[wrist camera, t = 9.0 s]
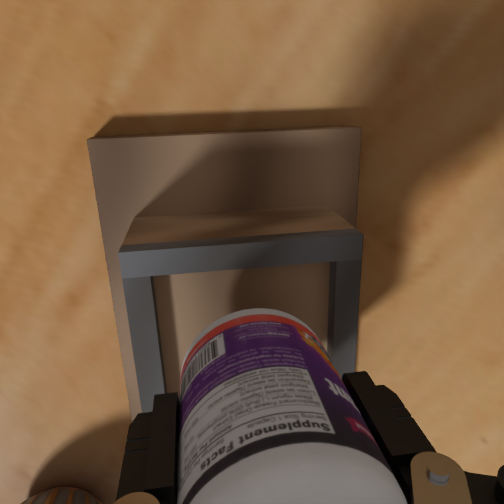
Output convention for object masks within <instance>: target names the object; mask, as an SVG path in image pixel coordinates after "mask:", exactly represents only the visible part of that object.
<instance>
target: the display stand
mask: <svg viewBox="0 0 504 504" xmlns="http://www.w3.org/2000/svg"><path fill="white" fill-rule="evenodd" d="M361 129H362V128H361V127H355V126H337V127H314V128H290V129H267V130H243V131H220V132H196V133H173V134H149V135H126V136H102V137H91V138H89V139H87V144H88V150H89V156H90V162H91V169H92V175H93V181H94V187H95V194H96V200H97V206H98V212H99V219H100V225H101V231H102V237H103V244H104V250H105V256H106V262H107V269H108V275H109V281H110V287H111V294H112V300H113V306H114V312H115V319H116V325H117V331H118V337H119V343H120V350H121V356H122V362H123V368H124V375H125V381H126V387H127V393H128V400H129V406H130V412H131V418H132V421H133V420H134V419H135V417H136V416H137V414H138V413H145V412H152V411H153V402H154V395H155V394H164V393H172V392H178V398H179V389H180V377H181V369H182V365H183V361H184V358H185V355H186V353H187V351H188V349H189V347H190V345H191V344H192V342H193V341H194V340H195V338H196V337H197V336H198V335H199V334H200V333H201V332H202V331H203V330H204V329H205V328H206V327H208V326H209V325H210V324H212V323H213V322H215V321H216V320H218V319H220V318H222V317H224V316H226V315H228V314H231V313H234V312H237V311H241V310H246V309H255V308H266V309H274V310H279V311H282V312H285V313H288V314H290V315H292V316H294V317H296V318H298V319H299V320H301V321H302V322H304V323H305V324H306V325H307V326H308V327H309V328H310V329H311V330H312V331H313V332H314V333H315V334H316V336H317V337H318V339H319V340H320V342H321V343H322V345H323V346H324V348H325V350H326V352H327V354H328V356H329V358H330V359H331V361H332V363H333V365H334V367H335V369H336V370H337V372H338V374H339V376H340V378H341V379H342V375H343V374H344V373H352V372H355V359H356V343H357V327H358V312H359V296H360V280H361V265H362V249H363V234H362V233H361V232H360V231H358V230H357V229H356V217H357V199H358V182H359V164H360V147H361Z"/></svg>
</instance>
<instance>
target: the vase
mask: <svg viewBox="0 0 504 504" xmlns="http://www.w3.org/2000/svg"><path fill="white" fill-rule="evenodd" d="M21 504H102V503H101V502H100V501H99V500H98V499H97V498H96V497H94V496H93V495H92V494H90V493H89V492H87V491H85V490H82V489H79V488H75V487H57V488H53V489H49V490H46V491H43V492H40V493H38V494H36V495H34V496H32V497H30V498H29V499H27V500H25V501H24V502H22V503H21Z"/></svg>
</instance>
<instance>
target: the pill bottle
mask: <svg viewBox="0 0 504 504" xmlns="http://www.w3.org/2000/svg"><path fill="white" fill-rule="evenodd" d="M176 504H407V501H406V498H405V496H404V494H403V492H402V490H401V488H400V486H399V484H398V482H397V480H396V478H395V476H394V474H393V472H392V470H391V468H390V466H389V465H388V463H387V461H386V459H385V457H384V456H383V454H382V452H381V450H380V448H379V447H378V445H377V443H376V442H375V440H374V438H373V436H372V434H371V432H370V430H369V428H368V427H367V425H366V423H365V421H364V420H363V418H362V416H361V414H360V412H359V410H358V409H357V407H356V405H355V403H354V402H353V400H352V398H351V396H350V394H349V392H348V390H347V389H346V387H345V385H344V383H343V381H342V379H341V378H340V376H339V374H338V372H337V370H336V369H335V367H334V365H333V363H332V361H331V359H330V358H329V356H328V354H327V352H326V350H325V348H324V346H323V345H322V343H321V342H320V340H319V339H318V337H317V336H316V334H315V333H314V332H313V331H312V330H311V329H310V328H309V327H308V326H307V325H306V324H305V323H304V322H302V321H301V320H299V319H298V318H296V317H294V316H292V315H290V314H288V313H285V312H282V311H279V310H274V309H266V308H255V309H246V310H241V311H237V312H234V313H231V314H228V315H226V316H224V317H222V318H220V319H218V320H216V321H215V322H213V323H212V324H210V325H209V326H208V327H206V328H205V329H204V330H203V331H202V332H201V333H200V334H199V335H198V336H197V337H196V338H195V340H194V341H193V342H192V344H191V345H190V347H189V349H188V351H187V353H186V355H185V358H184V361H183V365H182V369H181V377H180V389H179V429H178V465H177V501H176Z"/></svg>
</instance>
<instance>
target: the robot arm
mask: <svg viewBox="0 0 504 504" xmlns="http://www.w3.org/2000/svg"><path fill="white" fill-rule="evenodd" d="M342 381H343V383H344V385H345V387H346V389H347V390H348V392H349V394H350V396H351V398H352V400H353V402H354V403H355V405H356V407H357V409H358V410H359V412H360V414H361V416H362V418H363V420H364V421H365V423H366V425H367V427H368V428H369V430H370V432H371V434H372V436H373V438H374V440H375V442H376V443H377V445H378V447H379V448H380V450H381V452H382V454H383V456H384V457H385V459H386V461H387V463H388V465H389V466H390V468H391V470H392V472H393V474H394V476H395V478H396V480H397V482H398V484H399V486H400V488H401V490H402V492H403V494H404V496H405V498H406V501H407V504H504V465H503V466H502V467H500V469H499V470H498V475H497V477H496V476H489V475H482V474H475V473H469V472H465V471H463V469H462V468H461V467H460V466H459V465H458V464H457V463H456V462H455V461H454V460H452V459H451V458H449V457H447V456H445V455H443V454H440V453H437V452H436V451H435V449H434V448H433V446H432V445H431V443H430V442H429V440H428V439H427V438H426V436H425V435H424V433H423V432H422V430H421V429H420V427H419V426H418V425H417V423H416V422H415V420H414V419H413V418H412V417H411V414H410V413H409V412H408V410H407V409H406V408H405V406H404V404H403V403H402V401H401V400H400V399H399V397H398V396H397V394H396V393H394V392H393V391H391V390H390V389H389V388H387V387H386V386H385V385H377V386H376V385H375V384H374V382H373V381H372V379H371V378H370V376H369V375H368V373H367V372H366V371H361V372H352V373H344V374H343V375H342ZM178 429H179V398H178V392H172V393H164V394H155V395H154V402H153V411H152V412H145V413H138V414H137V416H136V417H135V419H134V420H133V421H132V423H131V424H130V426H129V430H128V436H127V443H126V447H125V454H124V459H123V464H122V470H121V476H120V481H119V487H118V493H117V498H116V501H115V503H114V504H176V501H177V465H178Z"/></svg>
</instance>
